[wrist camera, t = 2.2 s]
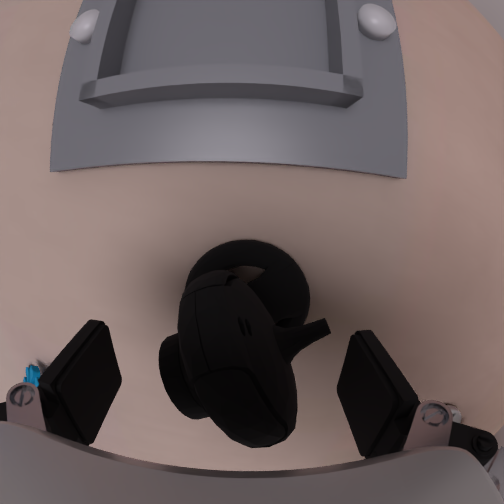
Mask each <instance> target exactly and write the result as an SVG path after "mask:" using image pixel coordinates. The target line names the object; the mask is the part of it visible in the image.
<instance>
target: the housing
mask: <svg viewBox="0 0 504 504" xmlns="http://www.w3.org/2000/svg"><path fill="white" fill-rule="evenodd" d="M70 36H71V37H70V40H69V43H68V47H67V51H66V55H65V58H64V63H63V67H62V71H61V76H60V81H59V86H58V92H57V98H56V104H55V111H54V119H53V129H52V140H51V156H50V172H60V171H68V170H76V169H84V168H94V167H104V166H116V165H130V164H147V163H173V162H235V163H262V164H280V165H294V166H306V167H317V168H327V169H336V170H345V171H353V172H360V173H368V174H375V175H381V176H388V177H394V178H403V179H406V177H407V147H408V131H407V102H406V87H405V76H404V67H403V59H402V51H401V45H400V39H399V33H398V27H397V22H396V17H395V13H394V8H393V4H392V0H83V2H82V5H81V7H80V10H79V12H78V15H77V18H76V20H75V21H74V22H73V24H72V26H71V28H70Z"/></svg>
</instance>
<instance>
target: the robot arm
mask: <svg viewBox="0 0 504 504" xmlns="http://www.w3.org/2000/svg"><path fill="white" fill-rule="evenodd" d="M38 382H39V385H38V387H36V386H35V385H34V384H32V383H28V382H22V383H18V384H16V385H14V386H13V387H11V389H10V390H9V391H8V393H7V396H6V402H3V403H0V504H504V447H502V446H501V448H500V449H498V445H497V444H498V443H497V440H496V439H495V437H494V436H493V435H492V434H491V433H489V432H487V431H484V430H481V429H477V428H476V427H470V426H467V425H463V424H460V423H461V418H462V416H461V413H460V411H459V410H458V409H457V407H455V406H453V405H445V404H444V403H442V402H439V401H435V400H428V401H425V402H422V403H420V401H419V400H418V398H419V397H418V396H417V394H416V393H415V392H414V390H413V389H412V387H411V386H410V384H409V383H408V381H407V380H406V378H405V377H404V375H403V374H402V372H401V371H400V370H399V368H398V367H397V365H396V364H395V362H394V361H393V360H392V358H391V357H390V355H389V354H388V353H387V351H386V350H385V348H384V347H383V346H382V344H381V343H380V341H379V340H378V339H377V337H376V336H375V335H374V333H373V332H372V331H371V330H361V331H356V332H355V335H352V336H351V338H350V341H349V345H348V349H347V353H346V356H345V360H344V364H343V367H342V371H341V374H340V378H339V381H338V384H337V394H338V396H339V399H340V402H341V404H342V407H343V410H344V412H345V415H346V417H347V420H348V423H349V425H350V428H351V431H352V434H353V436H354V439H355V442H356V444H357V447H358V450H359V453H360V455H361V456H365V458H366V459H364V460H359V461H354V462H348V463H343V464H336V465H330V466H323V467H315V468H306V469H296V470H281V471H220V470H206V469H195V468H186V467H178V466H171V465H165V464H159V463H153V462H148V461H143V460H138V459H134V458H129V457H125V456H121V455H117V454H113V453H110V452H106V451H103V450H99V449H96V448H93V447H90V446H89V444H92V443H93V442H94V441H95V438H96V436H97V434H98V432H99V430H100V427H101V425H102V423H103V421H104V419H105V417H106V415H107V412H108V410H109V408H110V406H111V404H112V402H113V400H114V398H115V396H116V394H117V392H118V390H119V388H120V386H121V382H122V377H121V374H120V370H119V367H118V363H117V359H116V356H115V352H114V348H113V344H112V340H111V335H110V331H109V327H108V326H107V325H105V323H104V322H103V321H98V320H89V321H88V322H87V323H86V324H85V325H84V326H83V327H82V328H81V329H80V331H79V332H78V333H77V334H76V335H75V336H74V337H73V339H72V340H71V341H70V342H69V343H68V344H67V345H66V347H65V348H64V349H63V350H62V351H61V352H60V354H59V355H58V356H57V357H56V358H55V360H54V361H53V362H52V363H51V364H50V366H49V367H48V368H47V369H46V370H45V372H44V373H43V374H42V375H41V377H40V378H39V379H38Z"/></svg>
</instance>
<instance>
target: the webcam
mask: <svg viewBox="0 0 504 504" xmlns="http://www.w3.org/2000/svg"><path fill="white" fill-rule="evenodd" d="M238 266H253V267H259V268H262V269H264V270H265V272H264V273H263V274H262V275H261V276H260V278H258V279H256V280H254V281H252V282H249V283H247V284H245V283H244V282H243V281H242V280H241V279H240V278H239V277H238V276H236V275H235V274H234V273H232V272H229V271H227V270H229V269H231V268H234V267H238ZM309 305H310V294H309V287H308V284H307V281H306V279H305V276H304V274H303V272H302V270H301V269H300V267H299V266H298V265H297V263H296V262H295V261H294V260H293V259H292V258H291V257H290V256H289V255H288V254H286V253H285V252H283V251H282V250H280V249H278V248H277V247H275V246H273V245H271V244H267V243H263V242H259V241H255V240H240V241H231V242H228V243H225V244H222V245H219V246H217V247H215V248H213V249H211V250H210V251H208V252H207V253H206V254H204V255H203V256H202V257H201V258H200V259H199V260H198V261H197V263H196V264H195V265H194V267H193V268H192V270H191V271H190V273H189V276H188V279H187V282H186V286H185V291H184V293H183V295H182V298H181V301H180V306H179V316H178V327H177V328H178V333H177V334H174V335H171V336H169V337H167V338H166V339H165V340H164V341H163V342H162V344H161V347H160V350H159V369H160V375H161V378H162V381H163V384H164V387H165V390H166V392H167V394H168V396H169V397H170V399H171V401H172V402H173V404H174V405H175V406H176V408H177V409H178V410H179V411H180V412H181V413H182V414H184V415H185V416H187V417H189V418H191V419H202V418H206V417H210V418H211V419H212V420H213V422H214V423H215V424H216V425H217V426H218V427H219V428H220V429H221V430H222V431H223V432H224V433H225V434H226V435H227V436H228V437H229V438H230V439H232V440H234V441H236V442H238V443H241V444H242V445H245V446H248V447H251V448H261V447H270V446H273V445H275V444H277V443H280V442H282V441H284V440H286V439H287V438H288V436H289V435H290V434H291V433H292V431H293V430H294V429H295V425H296V416H297V389H296V383H295V377H294V373H293V370H292V366H291V361H292V360H293V358H294V357H295V356H296V355H297V354H298V353H299V352H300V351H301V350H302V349H303V348H305V347H307V346H308V345H310V344H311V343H313V342H315V341H317V340H319V339H321V338H323V337H325V336H327V335H329V334H330V333H331V332H330V329H329V326H328V324H327V321H326V320H325V318H323V319H320V320H317V321H315V322H312V323H309V324H306V325H304V322H305V320H306V318H307V315H308V311H309ZM276 322H277V323H276ZM275 323H276V324H275Z"/></svg>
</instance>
